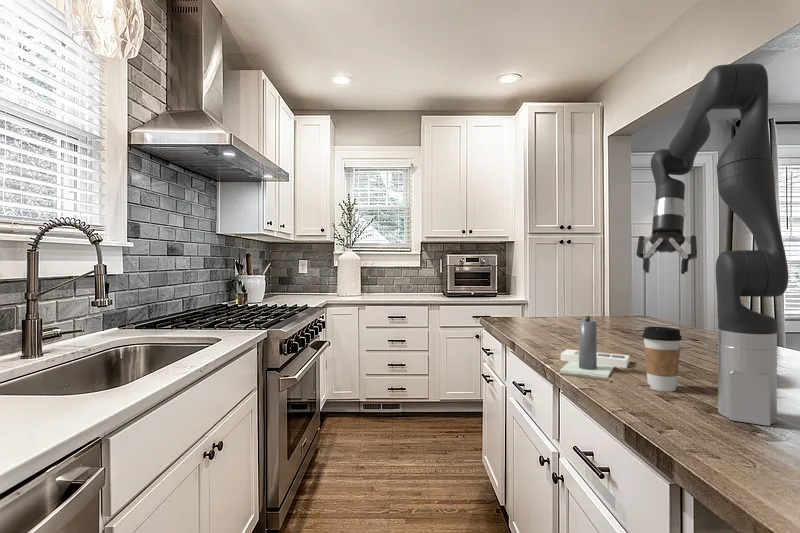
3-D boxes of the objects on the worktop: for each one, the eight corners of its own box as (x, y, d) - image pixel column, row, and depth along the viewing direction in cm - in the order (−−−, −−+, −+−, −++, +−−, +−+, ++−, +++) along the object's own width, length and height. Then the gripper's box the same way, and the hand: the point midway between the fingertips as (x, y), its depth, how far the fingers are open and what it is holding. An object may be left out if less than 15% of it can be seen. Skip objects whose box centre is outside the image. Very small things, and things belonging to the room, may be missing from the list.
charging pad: (608, 381, 114) (608, 375, 114) (560, 375, 120) (560, 369, 120) (614, 371, 124) (614, 366, 124) (569, 366, 130) (569, 361, 130)
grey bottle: (595, 370, 119) (595, 317, 118) (577, 368, 121) (577, 316, 121) (598, 366, 123) (597, 315, 122) (580, 364, 125) (580, 314, 125)
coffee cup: (648, 392, 104) (648, 329, 104) (637, 382, 112) (637, 324, 112) (688, 394, 102) (687, 330, 102) (674, 384, 110) (674, 325, 110)
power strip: (651, 373, 120) (650, 362, 120) (560, 363, 133) (560, 353, 133) (652, 367, 127) (652, 356, 127) (566, 358, 140) (566, 348, 140)
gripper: (637, 213, 124) (633, 269, 122) (697, 211, 116) (694, 271, 113) (642, 221, 130) (638, 274, 128) (700, 219, 121) (696, 276, 119)
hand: (664, 273), depth 120 cm, fingers open, 8 cm apart
